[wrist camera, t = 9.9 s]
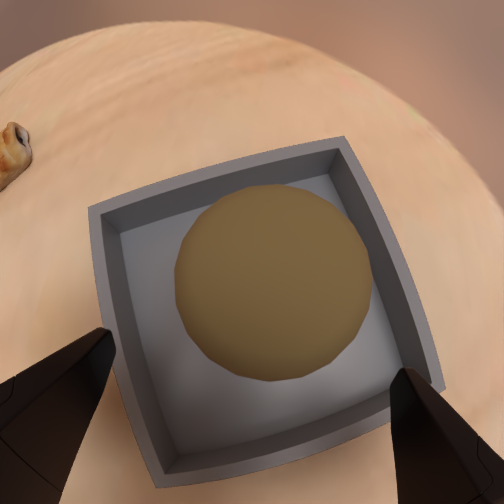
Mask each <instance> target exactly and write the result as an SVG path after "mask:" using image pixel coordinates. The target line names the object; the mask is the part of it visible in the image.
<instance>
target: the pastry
mask: <svg viewBox="0 0 504 504" xmlns="http://www.w3.org/2000/svg"><path fill="white" fill-rule="evenodd" d="M31 157H32V151H31V148H30V146H29V144H28V134H27V131H26V130H25V128H23V127H22V126H20V125H19V124H17V123H15V122H10V123H8V124H7V128H5V129H4V130H2V131H1V132H0V192H1V190H2V189H3V188H5V187H6V186H7V185H8V184H9V183H10V182H12V181H13V180H14V179H15V178H17V177H18V176H19V175H20V174H21V173H22V172H23V171H24V170H25V169H26V168H27V167H28V165H29V164H30V162H31Z"/></svg>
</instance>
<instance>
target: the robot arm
mask: <svg viewBox="0 0 504 504" xmlns="http://www.w3.org/2000/svg"><path fill="white" fill-rule="evenodd" d="M115 355H116V345H115V342H114V338H113V334H112V331H111V330H109V329H106V328H102V327H99V328H96V329H95V330H93V331H91V332H89V333H88V334H86V335H84V336H82V337H81V338H79V339H77V340H75V341H74V342H72V343H70V344H69V345H67V346H65V347H63V348H62V349H60V350H58V351H56V352H55V353H53V354H51V355H49V356H48V357H46V358H44V359H43V360H41V361H39V362H37V363H36V364H34V365H32V366H31V367H29V368H27V369H25V370H24V371H22V372H20V373H19V374H17V375H16V377H15V376H13V377H12V378H10V379H8V380H6V381H5V382H3V383H1V384H0V504H59V501H60V499H61V496H62V492H63V490H64V487H65V484H66V481H67V479H68V476H69V473H70V471H71V468H72V465H73V463H74V460H75V458H76V455H77V453H78V450H79V448H80V445H81V443H82V440H83V438H84V435H85V433H86V431H87V428H88V426H89V424H90V421H91V419H92V417H93V414H94V412H95V410H96V408H97V405H98V403H99V401H100V399H101V396H102V394H103V391H104V388H105V385H106V382H107V379H108V376H109V373H110V370H111V367H112V364H113V361H114V358H115ZM389 394H390V415H391V434H392V442H393V451H394V459H395V469H396V480H397V493H398V504H504V460H503V459H502V458H501V457H500V456H499V455H498V454H497V453H496V452H495V451H494V450H493V449H492V448H491V447H490V446H489V445H488V444H487V443H486V442H485V441H484V440H483V439H482V438H481V437H480V436H478V434H477V433H476V432H475V431H474V430H473V429H472V428H471V426H470V425H469V424H468V423H467V422H466V421H465V420H464V419H463V418H462V417H461V416H460V415H459V414H458V413H457V412H456V411H455V410H454V409H453V408H452V407H451V406H450V405H449V404H448V402H447V401H446V400H445V399H444V398H443V397H442V396H441V395H440V394H439V393H438V392H437V391H436V390H435V389H434V388H433V387H432V386H431V385H430V384H429V383H428V382H427V381H426V380H425V379H424V378H423V377H422V376H421V375H420V374H419V373H418V372H417V371H416V370H415V369H414V368H412V367H402V368H400V369H399V370H398V372H397V374H396V376H395V377H394V379H393V381H392V382H391V384H390V388H389Z"/></svg>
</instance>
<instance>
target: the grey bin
mask: <svg viewBox="0 0 504 504" xmlns="http://www.w3.org/2000/svg"><path fill="white" fill-rule="evenodd" d="M273 184H281V185H286V186H291V187H295V188H300V189H305V190H308V191H310V192H312V193H314V194H315V195H317V196H319V197H321V198H323V199H325V200H327V201H328V202H330V203H332V204H333V205H334V206H335V207H336V208H337V209H338V210H339V211H340V212H341V213H342V214H344V215H345V216H346V217H347V218H348V219H349V220H350V221H351V222H352V223H353V225H354V227H355V228H356V230H357V232H358V234H359V236H360V237H361V239H362V241H363V243H364V245H365V247H366V249H367V252H368V257H369V262H370V267H371V272H372V277H373V282H372V291H371V299H370V307H369V311H368V313H367V315H366V317H365V319H364V321H363V323H362V326H361V328H360V330H359V332H358V334H357V336H356V338H355V339H354V340H353V341H352V342H351V343H350V344H349V345H348V346H347V347H346V348H345V349H344V350H343V351H342V352H341V353H340V354H339V355H338V356H337V357H336V358H335V359H334V360H333V361H332V362H331V363H330V364H328V365H326V366H324V367H322V368H320V369H318V370H316V371H314V372H312V373H310V374H308V375H306V376H304V377H302V378H296V379H289V380H281V381H273V382H266V381H261V380H256V379H251V378H247V377H242V376H237V375H235V374H233V373H232V372H230V371H228V370H227V369H225V368H223V367H221V366H220V365H218V364H216V363H215V362H213V361H211V360H210V359H208V358H207V357H206V355H205V354H204V353H203V352H202V351H201V350H200V348H199V347H198V346H197V345H196V344H195V343H194V341H193V340H192V339H191V338H190V337H189V335H188V334H187V332H186V330H185V327H184V325H183V322H182V320H181V317H180V314H179V312H178V309H177V307H176V302H175V282H174V267H175V264H176V260H177V257H178V253H179V250H180V246H181V243H182V240H183V238H184V237H185V235H186V234H187V232H188V231H189V229H190V228H191V226H192V225H193V223H194V222H195V221H196V219H197V218H198V216H199V215H200V214H201V213H202V212H204V211H205V210H206V209H208V208H209V207H210V206H211V205H213V204H214V203H215V202H216V201H218V200H219V199H220V198H222V197H223V196H226V195H228V194H231V193H234V192H236V191H239V190H241V189H244V188H247V187H249V186H260V185H273ZM88 217H89V230H90V241H91V251H92V259H93V267H94V275H95V282H96V288H97V294H98V300H99V306H100V311H101V317H102V322H103V327H104V328H106V329H109V330H111V331H112V334H113V338H114V342H115V345H116V355H115V358H114V361H113V364H112V365H113V369H114V373H115V376H116V380H117V384H118V387H119V390H120V394H121V397H122V400H123V404H124V407H125V410H126V413H127V416H128V419H129V422H130V425H131V427H132V430H133V433H134V436H135V439H136V441H137V444H138V446H139V449H140V452H141V454H142V457H143V459H144V461H145V464H146V466H147V469H148V471H149V473H150V476H151V478H152V480H153V482H154V484H155V487H156V488H167V487H177V486H185V485H192V484H199V483H205V482H211V481H217V480H222V479H227V478H232V477H237V476H241V475H245V474H250V473H254V472H258V471H262V470H265V469H269V468H273V467H276V466H280V465H283V464H286V463H289V462H293V461H296V460H299V459H302V458H305V457H308V456H311V455H313V454H316V453H319V452H322V451H324V450H327V449H330V448H332V447H335V446H337V445H340V444H342V443H345V442H347V441H349V440H352V439H354V438H356V437H358V436H361V435H363V434H365V433H367V432H369V431H372V430H374V429H376V428H378V427H380V426H382V425H384V424H386V423H388V422H390V421H391V415H390V394H389V388H390V384H391V382H392V381H393V379H394V377H395V376H396V374H397V372H398V370H399V369H400V368H402V367H412V368H414V369H415V370H416V371H417V372H418V373H419V374H420V375H421V376H422V377H423V378H424V379H425V380H426V381H427V382H428V383H429V384H430V385H431V386H432V387H433V388H434V389H435V390H436V391H437V392H438V393H441V392H442V391H444V390H445V389H446V387H445V383H444V378H443V374H442V370H441V366H440V362H439V359H438V355H437V351H436V348H435V344H434V341H433V337H432V334H431V331H430V328H429V324H428V321H427V318H426V315H425V312H424V309H423V306H422V303H421V300H420V297H419V295H418V292H417V289H416V286H415V283H414V281H413V278H412V276H411V273H410V270H409V268H408V265H407V263H406V260H405V258H404V255H403V253H402V250H401V248H400V246H399V243H398V241H397V239H396V236H395V234H394V232H393V230H392V227H391V225H390V223H389V221H388V218H387V216H386V214H385V212H384V210H383V208H382V206H381V204H380V202H379V200H378V197H377V195H376V193H375V191H374V189H373V187H372V185H371V184H370V182H369V180H368V178H367V176H366V174H365V172H364V170H363V168H362V166H361V165H360V163H359V161H358V159H357V157H356V155H355V154H354V152H353V150H352V148H351V147H350V145H349V143H348V141H347V140H346V138H345V136H340V137H334V138H329V139H323V140H318V141H313V142H308V143H303V144H298V145H294V146H289V147H284V148H280V149H275V150H271V151H267V152H263V153H258V154H254V155H250V156H246V157H242V158H238V159H235V160H231V161H227V162H223V163H220V164H216V165H212V166H209V167H205V168H202V169H198V170H195V171H192V172H188V173H185V174H182V175H178V176H175V177H172V178H169V179H166V180H163V181H159V182H156V183H153V184H150V185H147V186H144V187H141V188H139V189H136V190H133V191H130V192H127V193H124V194H121V195H119V196H116V197H113V198H111V199H108V200H105V201H103V202H100V203H97V204H95V205H92V206H90V207H88Z"/></svg>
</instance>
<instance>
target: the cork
mask: <svg viewBox="0 0 504 504" xmlns="http://www.w3.org/2000/svg"><path fill="white" fill-rule="evenodd" d="M174 282H175V302H176V307H177V309H178V312H179V314H180V317H181V320H182V322H183V325H184V327H185V330H186V332H187V334H188V335H189V337H190V338H191V339H192V340H193V341H194V343H195V344H196V345H197V346H198V347H199V348H200V350H201V351H202V352H203V353H204V354H205V355H206V357H207V358H208V359H210V360H211V361H213V362H215V363H216V364H218V365H220V366H221V367H223V368H225V369H227V370H228V371H230V372H232V373H233V374H235V375H237V376H242V377H247V378H251V379H256V380H261V381H266V382H273V381H281V380H289V379H296V378H302V377H304V376H306V375H308V374H310V373H312V372H314V371H316V370H318V369H320V368H322V367H324V366H326V365H328V364H330V363H331V362H332V361H333V360H334V359H335V358H336V357H337V356H338V355H339V354H340V353H341V352H342V351H343V350H344V349H345V348H346V347H347V346H348V345H349V344H350V343H351V342H352V341H353V340H354V339H355V338H356V336H357V334H358V332H359V330H360V328H361V326H362V323H363V321H364V319H365V317H366V315H367V313H368V311H369V307H370V299H371V291H372V282H373V277H372V272H371V267H370V262H369V257H368V252H367V249H366V247H365V245H364V243H363V241H362V239H361V237H360V236H359V234H358V232H357V230H356V228H355V227H354V225H353V223H352V222H351V221H350V220H349V219H348V218H347V217H346V216H345V215H344V214H342V213H341V212H340V211H339V210H338V209H337V208H336V207H335V206H334V205H333V204H332V203H330V202H328V201H327V200H325V199H323V198H321V197H319V196H317V195H315V194H314V193H312V192H310V191H308V190H305V189H300V188H295V187H291V186H286V185H281V184H273V185H260V186H249V187H247V188H244V189H241V190H239V191H236V192H234V193H231V194H228V195H226V196H223V197H222V198H220V199H219V200H218V201H216V202H215V203H214V204H213V205H211V206H210V207H209V208H208V209H206V210H205V211H204V212H202V213H201V214H200V215H199V216H198V218H197V219H196V221H195V222H194V223H193V225H192V226H191V228H190V229H189V231H188V232H187V234H186V235H185V237H184V238H183V240H182V243H181V246H180V250H179V253H178V257H177V260H176V264H175V267H174Z"/></svg>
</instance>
